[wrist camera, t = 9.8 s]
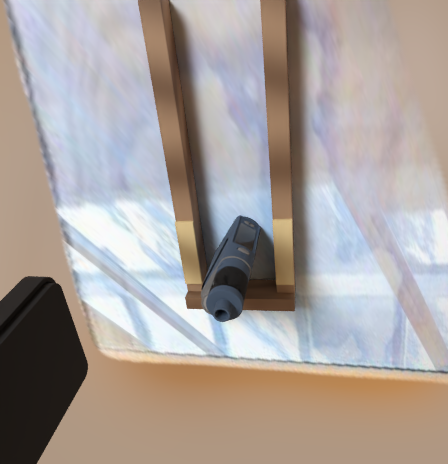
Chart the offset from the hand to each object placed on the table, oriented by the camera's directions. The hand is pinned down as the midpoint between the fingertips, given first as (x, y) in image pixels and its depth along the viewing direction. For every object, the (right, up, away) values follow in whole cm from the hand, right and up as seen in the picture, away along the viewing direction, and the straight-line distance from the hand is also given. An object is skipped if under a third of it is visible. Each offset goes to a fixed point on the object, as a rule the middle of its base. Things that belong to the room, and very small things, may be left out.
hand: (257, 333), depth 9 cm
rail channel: (0, +8, +23) cm, 25 cm away
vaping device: (+1, +2, +27) cm, 27 cm away
